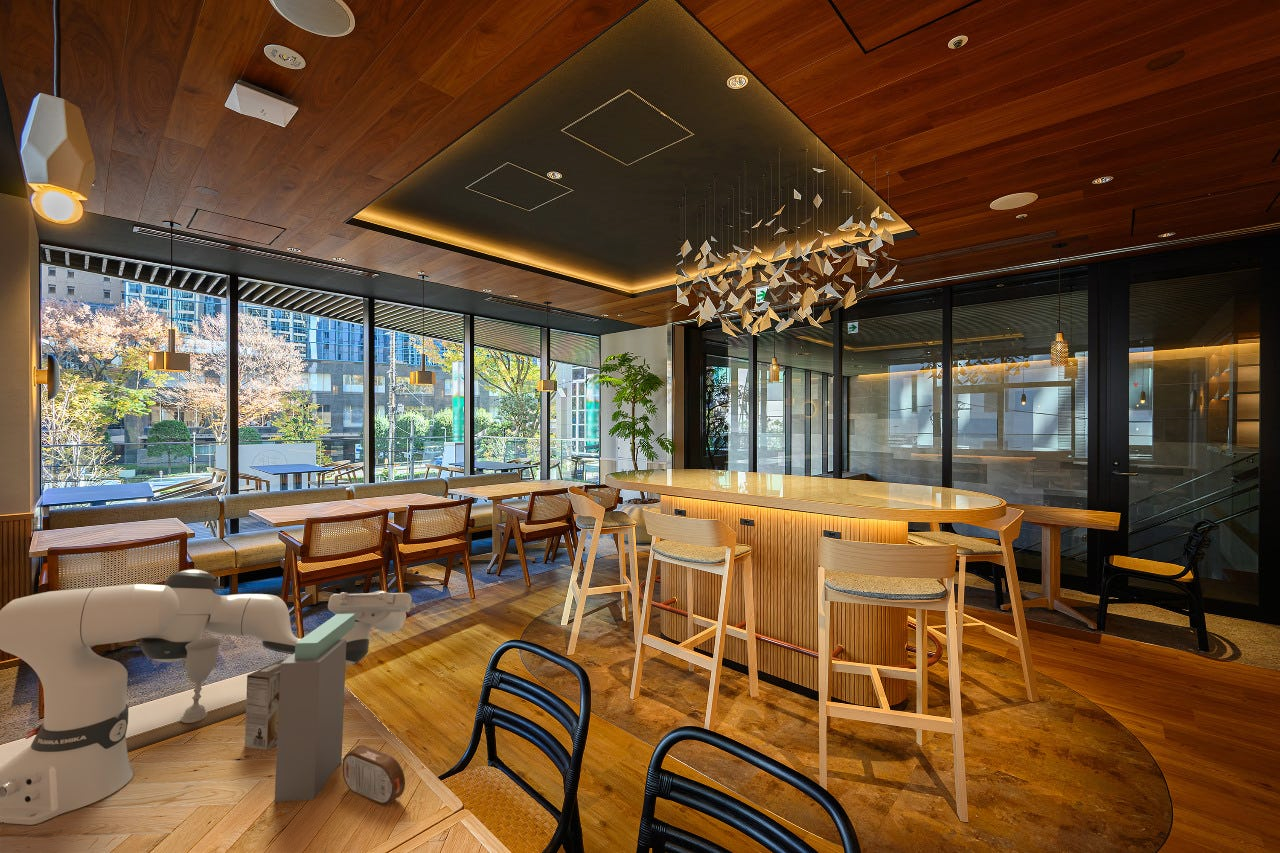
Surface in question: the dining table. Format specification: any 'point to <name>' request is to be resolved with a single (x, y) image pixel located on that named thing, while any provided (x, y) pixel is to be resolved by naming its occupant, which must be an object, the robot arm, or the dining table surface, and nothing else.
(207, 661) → the chalice
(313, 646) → the mint green bar
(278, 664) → the coffee box
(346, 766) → the tin
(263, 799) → the dining table surface
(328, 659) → the stand
